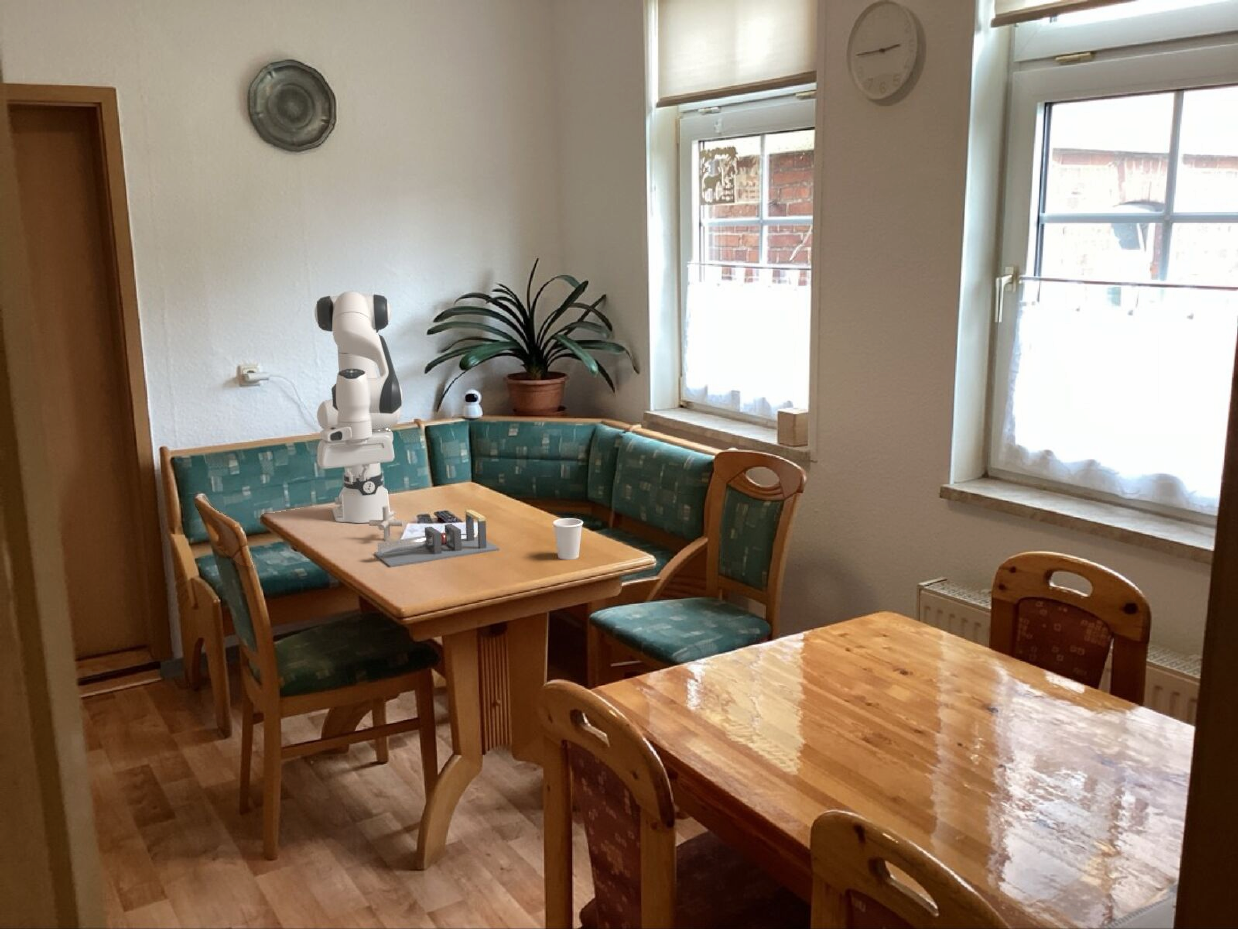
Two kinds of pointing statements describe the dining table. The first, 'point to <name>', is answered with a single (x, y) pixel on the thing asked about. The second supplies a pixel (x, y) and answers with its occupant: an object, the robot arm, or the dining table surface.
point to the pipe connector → (386, 522)
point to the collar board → (449, 550)
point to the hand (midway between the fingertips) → (357, 481)
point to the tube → (410, 543)
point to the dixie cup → (568, 537)
